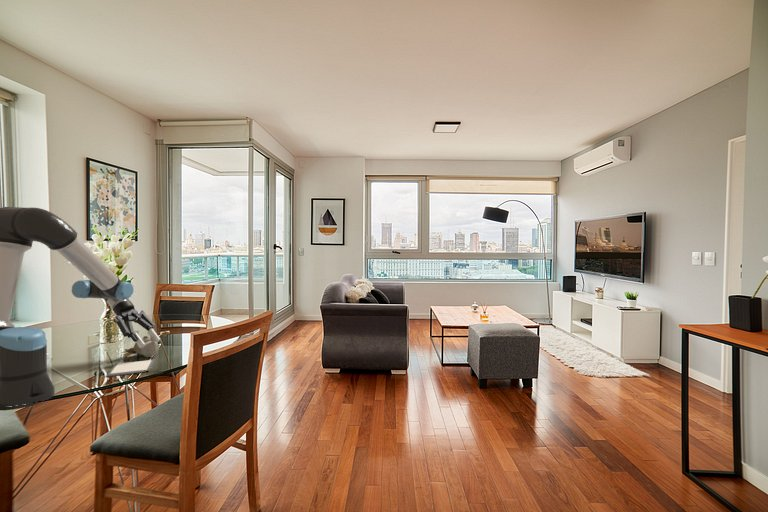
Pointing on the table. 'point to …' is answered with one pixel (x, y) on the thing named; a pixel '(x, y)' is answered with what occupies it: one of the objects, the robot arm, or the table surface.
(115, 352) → the table surface
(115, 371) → the linen sheet mat
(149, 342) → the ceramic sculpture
